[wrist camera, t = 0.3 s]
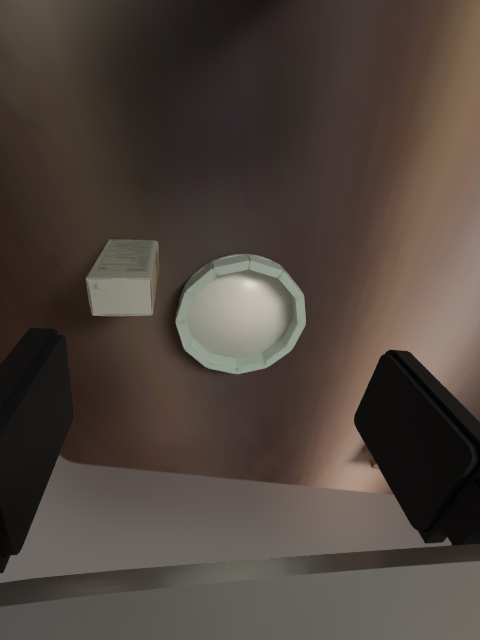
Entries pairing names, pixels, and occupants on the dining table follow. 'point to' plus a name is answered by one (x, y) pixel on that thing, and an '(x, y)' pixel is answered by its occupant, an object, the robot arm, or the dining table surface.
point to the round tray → (240, 313)
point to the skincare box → (124, 278)
